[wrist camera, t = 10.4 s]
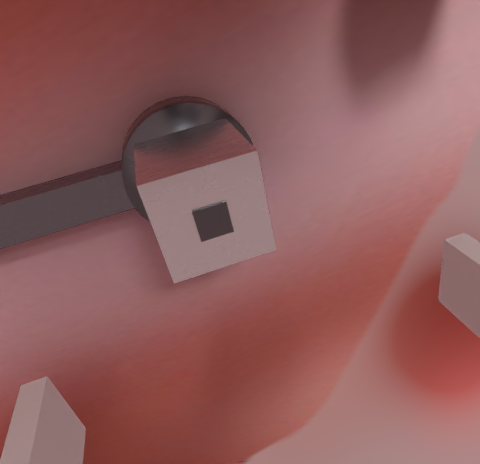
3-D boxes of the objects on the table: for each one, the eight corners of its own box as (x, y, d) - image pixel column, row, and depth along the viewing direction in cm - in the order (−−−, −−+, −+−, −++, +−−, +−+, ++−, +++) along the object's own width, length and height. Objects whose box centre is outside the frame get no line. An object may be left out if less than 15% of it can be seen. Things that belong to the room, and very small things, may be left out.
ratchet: (232, 81, 26) (264, 100, 20) (256, 197, 31) (288, 240, 25) (-153, 186, 23) (-248, 244, 17) (-62, 297, 28) (-112, 372, 22)
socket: (133, 144, 24) (136, 187, 18) (225, 118, 25) (258, 151, 19) (162, 225, 27) (174, 285, 21) (243, 200, 28) (277, 251, 22)
